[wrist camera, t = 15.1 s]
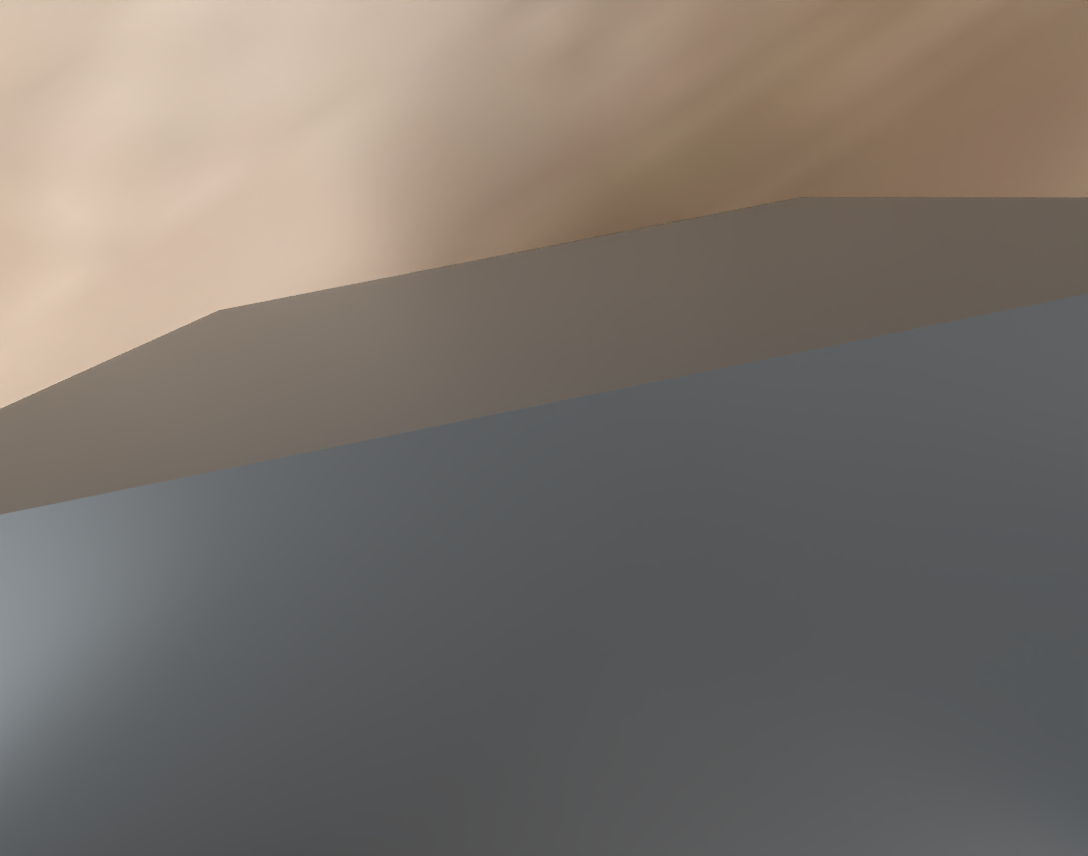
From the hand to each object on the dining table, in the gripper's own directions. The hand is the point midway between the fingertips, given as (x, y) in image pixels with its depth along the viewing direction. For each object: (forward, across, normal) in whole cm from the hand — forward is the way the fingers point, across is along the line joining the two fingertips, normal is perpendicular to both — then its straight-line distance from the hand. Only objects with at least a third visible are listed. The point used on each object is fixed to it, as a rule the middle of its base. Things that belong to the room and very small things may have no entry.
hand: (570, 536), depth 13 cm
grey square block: (+1, 0, 0) cm, 1 cm away
